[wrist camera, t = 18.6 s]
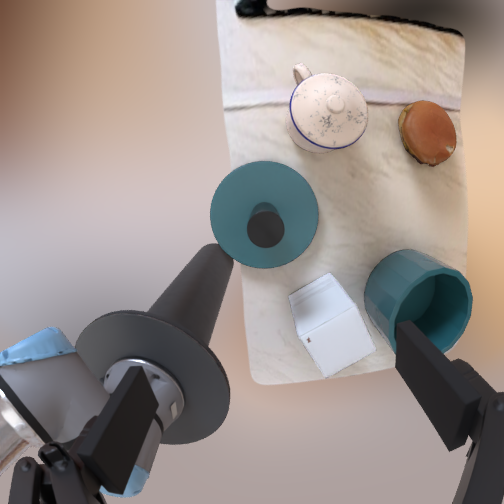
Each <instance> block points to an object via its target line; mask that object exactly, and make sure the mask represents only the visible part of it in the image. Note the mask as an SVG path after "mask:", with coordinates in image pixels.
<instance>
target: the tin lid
mask: <svg viewBox="0 0 504 504" xmlns="http://www.w3.org/2000/svg"><path fill="white" fill-rule="evenodd" d="M210 220H211V226H212V230H213V233H214V235H215V238H216V240H217V241H218V243H219V245H220V246H221V247H222V249H223V250H224V251H225V252H226V253H227V254H228V255H229V256H230V257H232V258H233V259H235V260H236V261H238V262H240V263H242V264H244V265H247V266H250V267H255V268H274V267H279V266H282V265H284V264H287V263H289V262H291V261H293V260H294V259H296V258H297V257H298V256H299V255H301V254H302V253H303V252H304V251H305V249H306V248H307V247H308V246H309V244H310V243H311V241H312V239H313V237H314V235H315V232H316V229H317V224H318V205H317V201H316V198H315V195H314V193H313V191H312V189H311V187H310V186H309V184H308V183H307V181H306V180H305V179H304V178H303V177H302V176H301V175H300V174H299V173H297V172H296V171H295V170H293V169H291V168H290V167H288V166H285V165H283V164H280V163H276V162H270V161H259V162H252V163H248V164H246V165H243V166H241V167H239V168H237V169H235V170H234V171H232V172H231V173H230V174H228V175H227V176H226V177H225V178H224V179H223V181H222V182H221V183H220V185H219V186H218V188H217V190H216V191H215V194H214V196H213V200H212V203H211V209H210Z"/></svg>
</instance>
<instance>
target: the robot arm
mask: <svg viewBox="0 0 504 504" xmlns="http://www.w3.org/2000/svg"><path fill="white" fill-rule="evenodd" d="M395 368H396V369H397V370H398V372H399V373H400V375H401V376H402V378H403V379H404V381H405V382H406V384H407V385H408V387H409V389H410V390H411V391H412V393H413V395H414V396H415V398H416V399H417V401H418V402H419V404H420V405H421V407H422V408H423V410H424V412H425V413H426V415H427V416H428V418H429V420H430V421H431V423H432V424H433V425H434V427H435V429H436V431H437V432H438V434H439V436H440V437H441V439H442V440H443V442H444V444H445V445H446V447H447V449H448V450H449V452H450V451H452V450H454V449H456V448H459V447H460V446H462V445H465V443H466V440H467V438H468V435H469V436H470V438H471V439H472V441H473V442H472V444H471V446H470V448H469V451H468V453H467V455H466V456H467V457H468V458H467V461H466V465H465V468H464V471H463V474H462V477H461V480H460V483H459V486H458V489H457V492H456V495H455V497H454V500H453V502H452V504H501V503H502V500H503V496H504V392H498V393H497V392H496V391H495V390H494V389H493V388H492V387H491V386H490V385H489V384H488V383H487V382H486V381H485V380H484V379H483V378H482V377H481V376H480V375H479V374H478V373H477V372H476V371H475V370H474V369H473V368H472V367H471V366H470V365H469V364H468V363H467V362H465V361H463V360H461V359H456V360H453V361H450V360H449V359H448V358H447V357H446V356H445V355H444V354H443V353H442V352H441V351H440V350H439V349H438V348H437V347H436V346H435V345H434V344H433V343H432V342H431V341H430V340H429V339H428V338H427V337H426V336H425V335H424V334H423V333H422V332H421V331H420V330H419V329H418V328H417V327H416V326H415V325H414V324H413V323H412V322H411V321H410V320H408V321H404V322H401V323H397V339H396V365H395ZM100 382H101V383H102V384H103V385H104V386H102V385H101V383H100ZM100 382H99V381H98V380H97V378H96V377H95V376H94V374H93V373H92V372H91V371H90V369H89V368H88V366H87V365H86V364H85V362H84V361H83V359H82V358H81V357H80V355H79V354H78V352H77V349H76V348H74V347H73V346H72V344H71V343H70V342H69V340H68V339H67V338H66V336H65V335H64V334H63V332H62V331H61V330H60V329H58V328H56V327H47V328H45V329H43V330H41V331H39V332H38V333H36V334H34V335H32V336H30V337H28V338H26V339H24V340H22V341H21V342H19V343H17V344H15V345H13V346H11V347H9V348H8V349H6V350H4V351H2V352H0V476H1V475H2V474H3V473H4V472H5V471H6V470H7V469H8V468H9V467H10V466H11V465H12V464H13V463H14V462H15V461H16V460H17V459H18V458H19V457H20V456H21V455H22V454H23V453H24V452H25V451H26V450H27V449H28V448H29V447H40V450H39V451H38V456H39V457H40V459H41V460H42V461H43V463H45V464H38V463H37V462H36V461H35V460H34V458H32V457H23V458H21V459H20V460H18V462H17V463H16V465H15V467H14V472H13V478H12V483H11V489H10V496H9V502H8V504H107V503H106V501H105V499H104V496H103V495H102V493H103V494H106V495H110V496H115V497H132V496H135V495H137V494H139V493H140V492H141V491H142V489H143V486H144V484H145V482H146V480H147V479H148V478H149V473H150V471H151V468H152V464H153V461H154V459H155V455H156V453H157V449H158V447H159V444H160V441H161V438H162V435H163V432H164V431H165V430H166V429H167V428H168V427H169V426H170V425H171V423H173V422H174V421H175V420H176V419H177V418H178V417H179V416H180V415H181V413H182V410H183V407H184V404H185V393H184V389H183V387H182V385H181V383H180V382H179V380H178V379H177V378H176V376H175V375H174V374H173V373H172V372H170V371H169V370H168V369H167V368H165V367H164V366H163V365H161V364H159V363H157V362H155V361H153V360H151V359H148V358H144V357H139V356H127V357H123V358H120V359H118V360H116V361H115V362H114V363H113V364H112V365H111V367H110V368H109V369H108V371H107V373H106V376H105V380H104V379H103V378H100Z"/></svg>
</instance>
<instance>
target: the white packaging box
mask: <svg viewBox="0 0 504 504" xmlns="http://www.w3.org/2000/svg"><path fill="white" fill-rule="evenodd" d="M288 297H289V301H290V305H291V309H292V313H293V318H294V322H295V326H296V330H297V335H298V338H299V339H300V341H301V342H302V344H303V345H304V347H305V348H306V350H307V351H308V353H309V354H310V356H311V357H312V359H313V360H314V362H315V363H316V365H317V366H318V368H319V369H320V371H321V372H322V374H323V376H324V377H325V378H328V377H329V376H331V375H333V374H335V373H337V372H339V371H341V370H343V369H344V368H346V367H348V366H350V365H352V364H354V363H356V362H357V361H359V360H361V359H363V358H364V357H366V356H368V355H370V354H371V353H373V352H375V351H376V347H375V345H374V343H373V341H372V338H371V336H370V334H369V331H368V329H367V327H366V325H365V322H364V320H363V318H362V316H361V313H360V311H359V309H358V307H357V305H356V304H355V303H354V302H353V301H352V299H351V298H350V297H349V295H348V294H347V293H346V292H345V290H344V289H343V288H342V286H341V285H340V284H339V282H338V281H337V280H336V279H335V278H334V276H333V275H332V274H331V273H330V272H329V273H328V274H326V275H324V276H322V277H321V278H319V279H317V280H315V281H314V282H312V283H310V284H308V285H307V286H305V287H303V288H301V289H300V290H298V291H296V292H294V293H293V294H291V295H289V296H288Z"/></svg>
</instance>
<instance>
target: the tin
mask: <svg viewBox="0 0 504 504" xmlns="http://www.w3.org/2000/svg"><path fill="white" fill-rule="evenodd" d="M472 301H473V297H472V293H471V289H470V285H469V282H468V281H467V280H466V279H465V277H464V276H463V275H462V274H461V273H460V272H459V271H458V270H456V269H454V268H452V267H450V266H448V265H446V264H444V263H442V262H440V261H438V260H437V259H435V258H433V257H431V256H429V255H427V254H425V253H422V252H419V251H415V250H401V251H397V252H395V253H392V254H390V255H389V256H387V257H386V258H384V259H383V260H382V261H381V262H380V263H379V264H378V265H377V266H376V267H375V268H374V270H373V271H372V273H371V275H370V277H369V279H368V281H367V284H366V288H365V294H364V302H365V308H366V311H367V314H368V315H369V317H370V319H371V321H372V323H373V324H374V325H375V327H376V328H377V330H378V331H379V332H380V334H381V335H382V336H383V338H384V339H385V341H386V342H387V343H388V345H389V346H390V348H391V349H392V350H393V352H394V353H395V354H396V339H397V323H401V322H404V321H408V320H410V321H411V322H412V323H413V324H414V325H415V326H416V327H417V328H418V329H419V330H420V331H421V332H422V333H423V334H424V335H425V336H426V337H427V338H428V339H429V340H430V341H431V342H432V343H433V344H434V345H435V346H436V347H437V348H438V349H439V350H440V351H441V352H442V353H443V354H444V353H445V352H446V351H448V350H449V349H450V348H452V347H453V345H454V344H455V343H456V342H457V340H458V339H459V338H460V337H461V335H462V334H463V332H464V331H465V328H466V326H467V324H468V321H469V319H470V316H471V311H472V310H471V309H472Z"/></svg>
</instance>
